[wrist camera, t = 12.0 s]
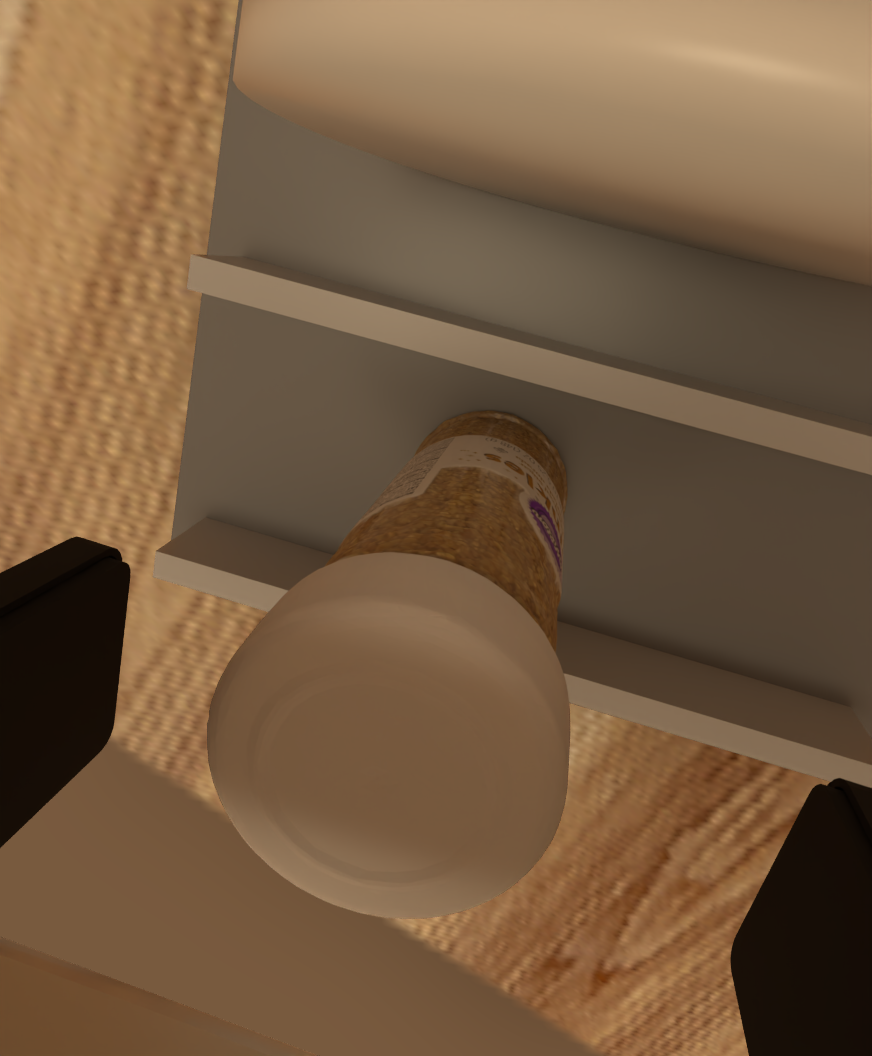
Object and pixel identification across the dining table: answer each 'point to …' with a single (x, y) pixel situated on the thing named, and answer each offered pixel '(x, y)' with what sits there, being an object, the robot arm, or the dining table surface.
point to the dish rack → (563, 327)
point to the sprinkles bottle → (412, 688)
